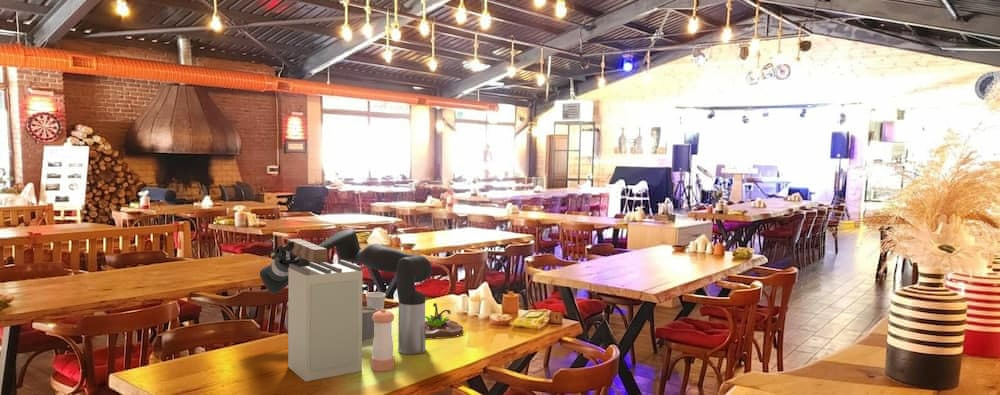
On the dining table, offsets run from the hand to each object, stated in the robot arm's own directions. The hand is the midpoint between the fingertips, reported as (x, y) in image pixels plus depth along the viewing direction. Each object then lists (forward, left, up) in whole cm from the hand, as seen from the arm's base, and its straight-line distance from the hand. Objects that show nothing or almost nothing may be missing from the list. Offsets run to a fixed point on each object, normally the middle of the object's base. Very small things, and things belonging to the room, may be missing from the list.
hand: (299, 243), depth 209 cm
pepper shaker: (-28, +5, -39) cm, 49 cm away
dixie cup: (-15, -60, -39) cm, 73 cm away
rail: (-4, +5, -3) cm, 7 cm away
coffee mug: (-14, -34, -39) cm, 54 cm away
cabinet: (-10, +7, -39) cm, 41 cm away
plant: (-42, -40, -40) cm, 70 cm away
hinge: (+9, -44, -39) cm, 60 cm away
